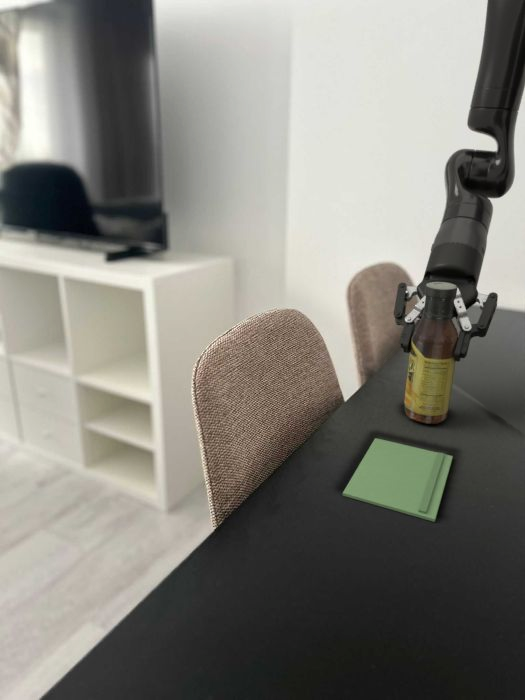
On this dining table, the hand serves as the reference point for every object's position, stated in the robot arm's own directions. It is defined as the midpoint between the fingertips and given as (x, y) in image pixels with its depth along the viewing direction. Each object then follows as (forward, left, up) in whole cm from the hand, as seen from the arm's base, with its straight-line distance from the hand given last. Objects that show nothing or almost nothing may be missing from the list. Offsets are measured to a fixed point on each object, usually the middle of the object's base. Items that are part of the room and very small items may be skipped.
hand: (430, 354), depth 71 cm
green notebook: (+9, +12, -11) cm, 18 cm away
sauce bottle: (-1, -1, -11) cm, 11 cm away
